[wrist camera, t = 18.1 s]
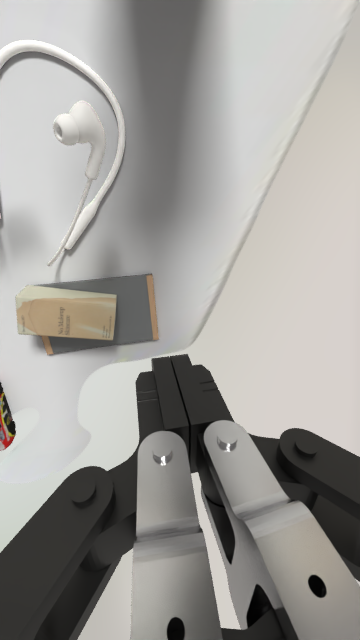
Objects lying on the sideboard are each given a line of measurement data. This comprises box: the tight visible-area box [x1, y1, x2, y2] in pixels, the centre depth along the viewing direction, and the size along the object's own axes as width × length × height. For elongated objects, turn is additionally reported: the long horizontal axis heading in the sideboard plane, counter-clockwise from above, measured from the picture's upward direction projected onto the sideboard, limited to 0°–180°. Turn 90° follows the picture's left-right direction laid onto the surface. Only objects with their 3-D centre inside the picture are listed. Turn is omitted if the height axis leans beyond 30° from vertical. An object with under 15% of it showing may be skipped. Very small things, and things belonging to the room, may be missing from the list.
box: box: [15, 285, 117, 340], centre depth 32 cm, size 5×4×11 cm
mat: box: [33, 274, 159, 355], centre depth 36 cm, size 10×16×1 cm, turn 93°
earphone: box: [0, 40, 125, 266], centre depth 25 cm, size 14×17×18 cm
